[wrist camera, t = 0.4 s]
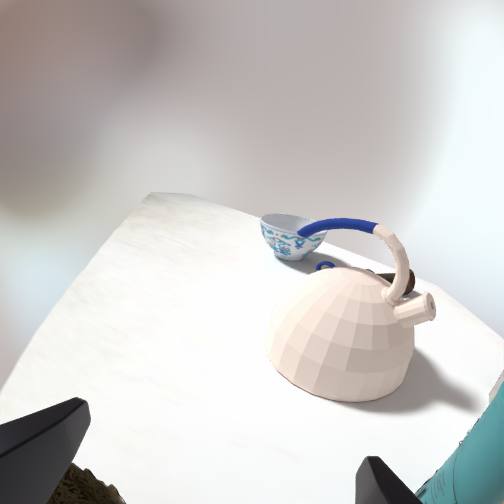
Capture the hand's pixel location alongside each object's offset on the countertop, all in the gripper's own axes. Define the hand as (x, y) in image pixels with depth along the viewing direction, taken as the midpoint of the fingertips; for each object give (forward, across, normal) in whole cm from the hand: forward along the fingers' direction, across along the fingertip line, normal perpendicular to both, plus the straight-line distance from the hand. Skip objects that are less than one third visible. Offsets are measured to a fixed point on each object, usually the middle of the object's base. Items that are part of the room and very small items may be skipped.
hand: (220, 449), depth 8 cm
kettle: (+32, -11, +13) cm, 36 cm away
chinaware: (+66, -4, +9) cm, 67 cm away
